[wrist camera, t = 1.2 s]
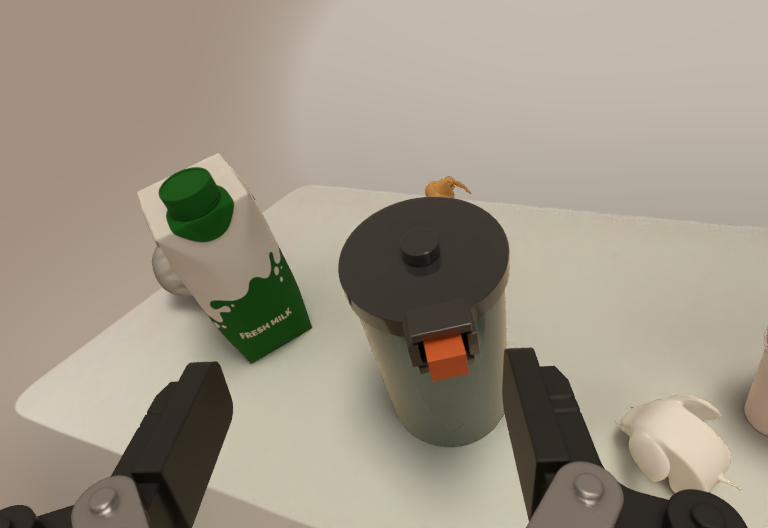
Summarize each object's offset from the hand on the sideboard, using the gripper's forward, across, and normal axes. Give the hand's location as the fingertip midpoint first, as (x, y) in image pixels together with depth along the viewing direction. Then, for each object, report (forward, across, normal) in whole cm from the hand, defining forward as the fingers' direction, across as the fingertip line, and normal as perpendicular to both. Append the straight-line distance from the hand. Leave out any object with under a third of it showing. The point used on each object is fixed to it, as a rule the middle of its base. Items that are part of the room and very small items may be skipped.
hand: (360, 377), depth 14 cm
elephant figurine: (+14, -19, +23) cm, 33 cm away
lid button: (+10, -3, +9) cm, 14 cm away
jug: (+21, -4, +22) cm, 31 cm away
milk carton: (+31, +14, +22) cm, 41 cm away
